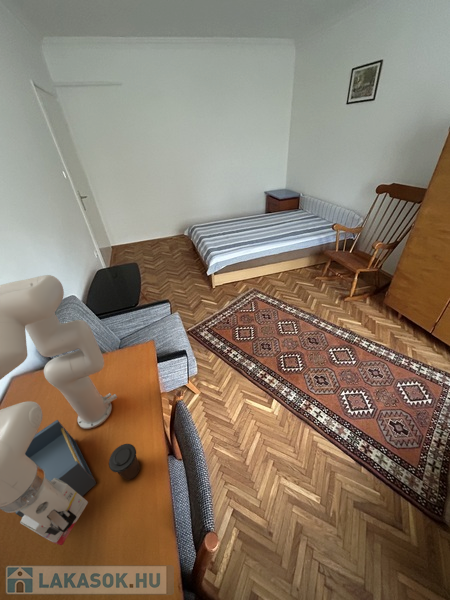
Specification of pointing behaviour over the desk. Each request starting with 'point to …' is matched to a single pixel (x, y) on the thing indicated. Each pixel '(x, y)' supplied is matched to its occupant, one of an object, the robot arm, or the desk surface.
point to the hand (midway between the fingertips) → (62, 514)
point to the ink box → (75, 507)
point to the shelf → (60, 458)
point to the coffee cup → (124, 461)
